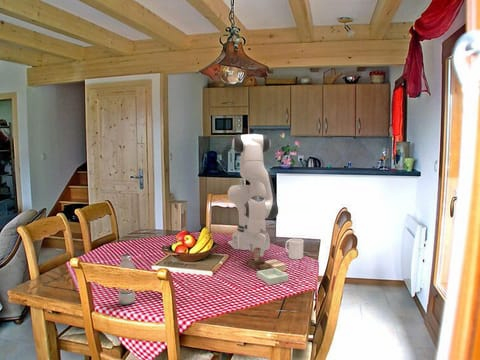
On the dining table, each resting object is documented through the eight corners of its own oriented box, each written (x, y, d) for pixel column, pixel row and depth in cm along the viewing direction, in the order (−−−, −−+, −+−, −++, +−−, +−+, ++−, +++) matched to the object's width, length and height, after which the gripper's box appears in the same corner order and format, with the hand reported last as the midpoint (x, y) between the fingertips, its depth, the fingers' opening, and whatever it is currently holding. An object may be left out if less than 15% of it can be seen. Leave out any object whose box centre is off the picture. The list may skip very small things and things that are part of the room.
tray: (256, 277, 186) (256, 271, 186) (275, 273, 191) (275, 267, 191) (269, 285, 176) (269, 278, 176) (288, 281, 182) (288, 275, 182)
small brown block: (259, 270, 196) (259, 265, 195) (266, 269, 198) (266, 263, 197) (263, 273, 192) (263, 267, 192) (270, 271, 194) (270, 266, 194)
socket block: (248, 266, 202) (248, 259, 201) (257, 264, 204) (258, 257, 204) (254, 270, 196) (254, 262, 196) (263, 268, 199) (264, 260, 199)
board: (263, 268, 200) (264, 261, 200) (274, 266, 203) (275, 259, 203) (274, 274, 191) (274, 266, 191) (286, 272, 195) (286, 264, 194)
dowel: (252, 266, 201) (253, 247, 200) (256, 265, 202) (257, 247, 201) (255, 267, 199) (255, 248, 198) (259, 266, 200) (259, 248, 199)
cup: (296, 260, 213) (297, 243, 212) (280, 255, 221) (281, 238, 220) (305, 257, 218) (306, 240, 217) (289, 253, 227) (290, 236, 226)
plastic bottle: (120, 299, 158) (119, 252, 155) (136, 299, 158) (136, 252, 156) (116, 306, 151) (115, 257, 149) (133, 306, 152) (133, 257, 150)
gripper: (273, 231, 190) (272, 258, 192) (252, 223, 208) (251, 248, 209) (262, 232, 187) (262, 260, 189) (242, 224, 205) (241, 249, 206)
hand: (256, 253), depth 199 cm, fingers open, 8 cm apart
